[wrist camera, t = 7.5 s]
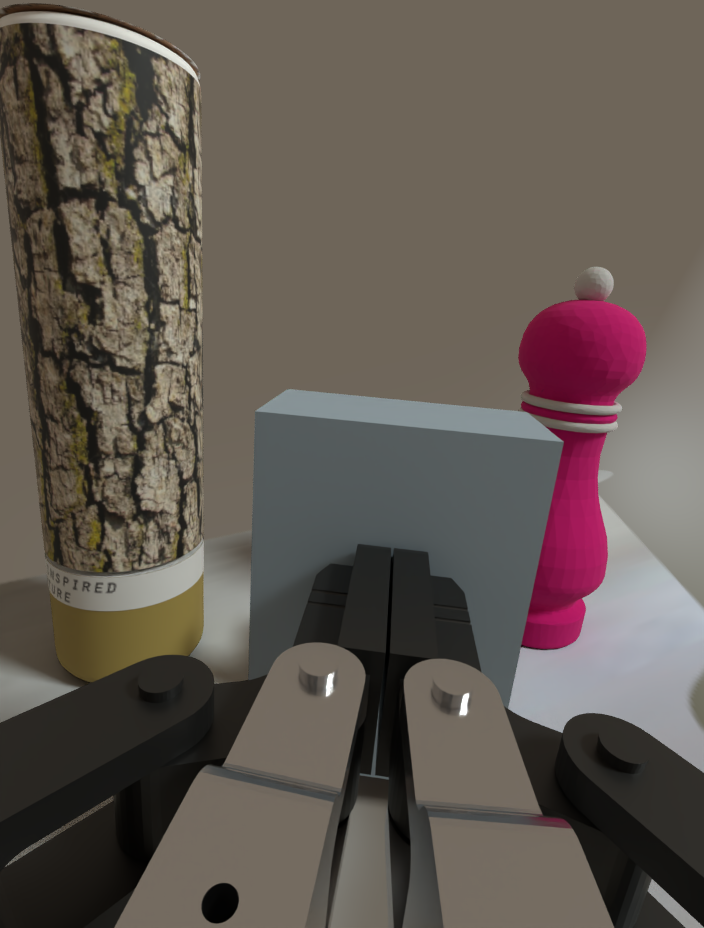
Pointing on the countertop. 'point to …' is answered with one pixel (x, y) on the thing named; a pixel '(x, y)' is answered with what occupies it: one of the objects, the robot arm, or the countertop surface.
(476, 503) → the light blue block
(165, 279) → the paper tube
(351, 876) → the rail
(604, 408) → the pepper mill
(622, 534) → the countertop surface
